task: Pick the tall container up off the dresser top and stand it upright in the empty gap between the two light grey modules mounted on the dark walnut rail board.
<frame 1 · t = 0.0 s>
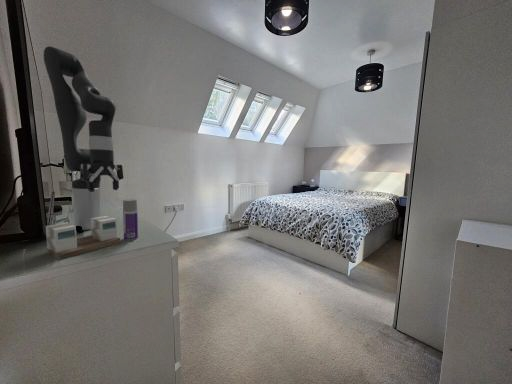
hand: (104, 190, 84), 17 cm above the dresser top, tool pointing down, fingers open, 8 cm apart
container: (130, 239, 82), on the dresser top
rail board: (86, 247, 72), on the dresser top
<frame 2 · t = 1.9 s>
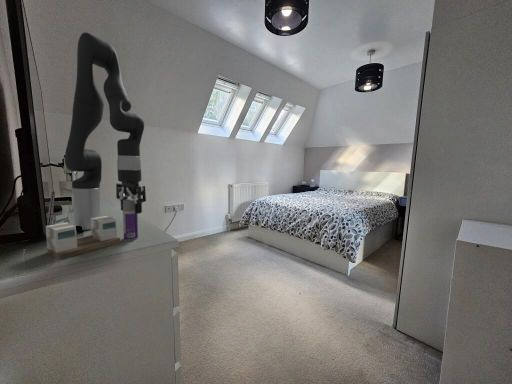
hand: (131, 211, 81), 10 cm above the dresser top, tool pointing down, fingers open, 8 cm apart
nothing on the dresser top moved.
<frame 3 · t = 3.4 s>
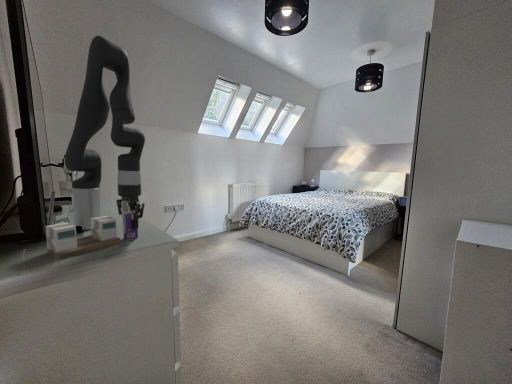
hand: (130, 227, 81), 4 cm above the dresser top, tool pointing down, fingers closed on container, 4 cm apart
container: (130, 239, 82), on the dresser top, touching gripper
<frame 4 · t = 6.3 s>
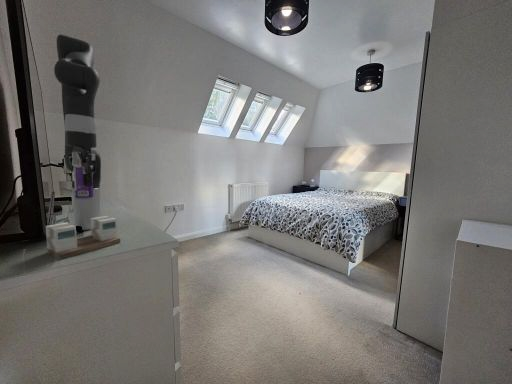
hand: (83, 185, 70), 21 cm above the dresser top, tool pointing down, fingers closed on container, 4 cm apart
container: (84, 199, 70), point 16 cm above the dresser top, touching gripper
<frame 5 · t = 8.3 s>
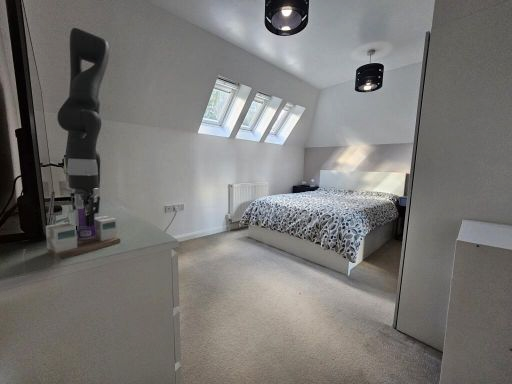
hand: (86, 224, 71), 8 cm above the dresser top, tool pointing down, fingers closed on container, 4 cm apart
container: (86, 237, 72), point 3 cm above the dresser top, touching gripper
when the fingers open (7 cm above the dresser top, at t = 9.2 s): container drops 1 cm, resting on rail board.
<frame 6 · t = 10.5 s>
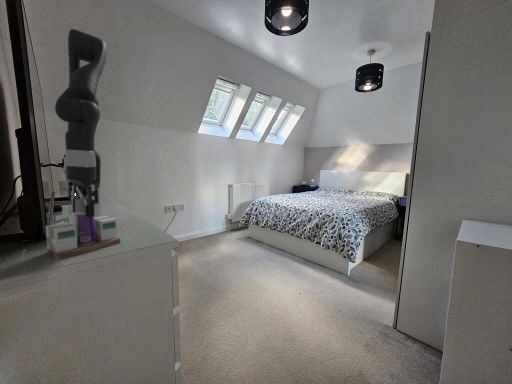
hand: (83, 214, 70), 11 cm above the dresser top, tool pointing down, fingers open, 8 cm apart
container: (86, 243, 72), point 1 cm above the dresser top, touching rail board
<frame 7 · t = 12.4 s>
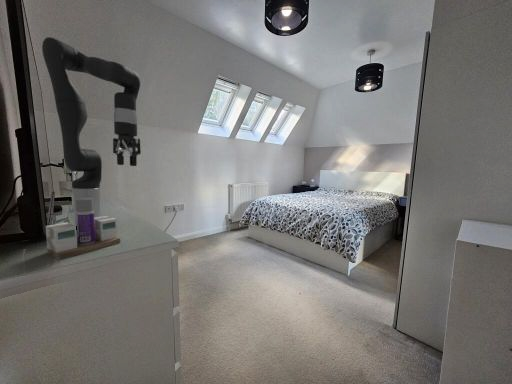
hand: (126, 165, 84), 28 cm above the dresser top, tool pointing down, fingers open, 8 cm apart
nothing on the dresser top moved.
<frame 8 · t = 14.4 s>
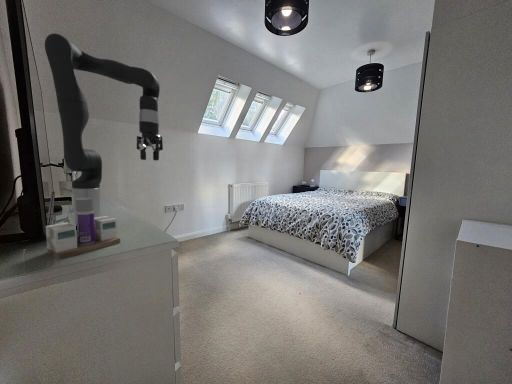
hand: (149, 160, 94), 30 cm above the dresser top, tool pointing down, fingers open, 8 cm apart
nothing on the dresser top moved.
at the end: container 0.1 cm off-centre on the rail board, point 1.3 cm above the rail board's base; container tilted 0°; the gripper is holding nothing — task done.
